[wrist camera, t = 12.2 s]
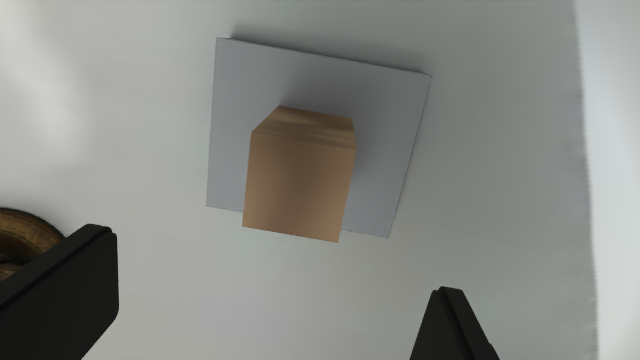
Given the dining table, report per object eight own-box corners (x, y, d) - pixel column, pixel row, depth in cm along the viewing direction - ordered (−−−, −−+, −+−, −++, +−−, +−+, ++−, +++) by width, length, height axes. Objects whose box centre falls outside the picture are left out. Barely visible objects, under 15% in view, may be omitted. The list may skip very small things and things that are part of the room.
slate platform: (422, 73, 26) (432, 76, 23) (383, 220, 30) (388, 237, 27) (229, 38, 26) (216, 37, 23) (218, 191, 30) (206, 206, 27)
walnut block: (351, 118, 24) (356, 150, 17) (338, 185, 26) (337, 242, 19) (278, 105, 24) (251, 132, 17) (270, 174, 26) (242, 226, 19)
